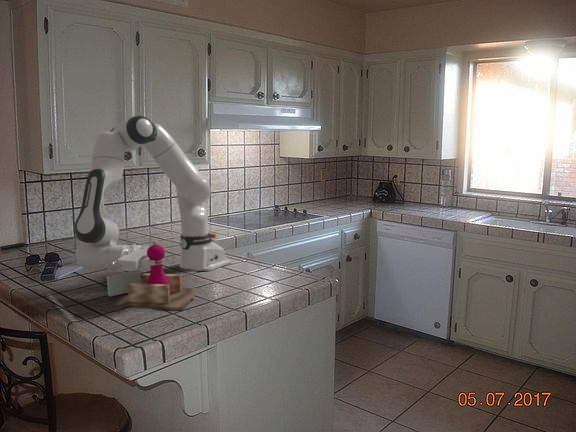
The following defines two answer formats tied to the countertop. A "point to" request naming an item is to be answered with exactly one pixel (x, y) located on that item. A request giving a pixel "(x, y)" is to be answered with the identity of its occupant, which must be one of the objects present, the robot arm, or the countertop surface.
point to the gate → (122, 282)
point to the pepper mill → (157, 264)
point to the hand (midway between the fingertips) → (160, 258)
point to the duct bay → (159, 294)
